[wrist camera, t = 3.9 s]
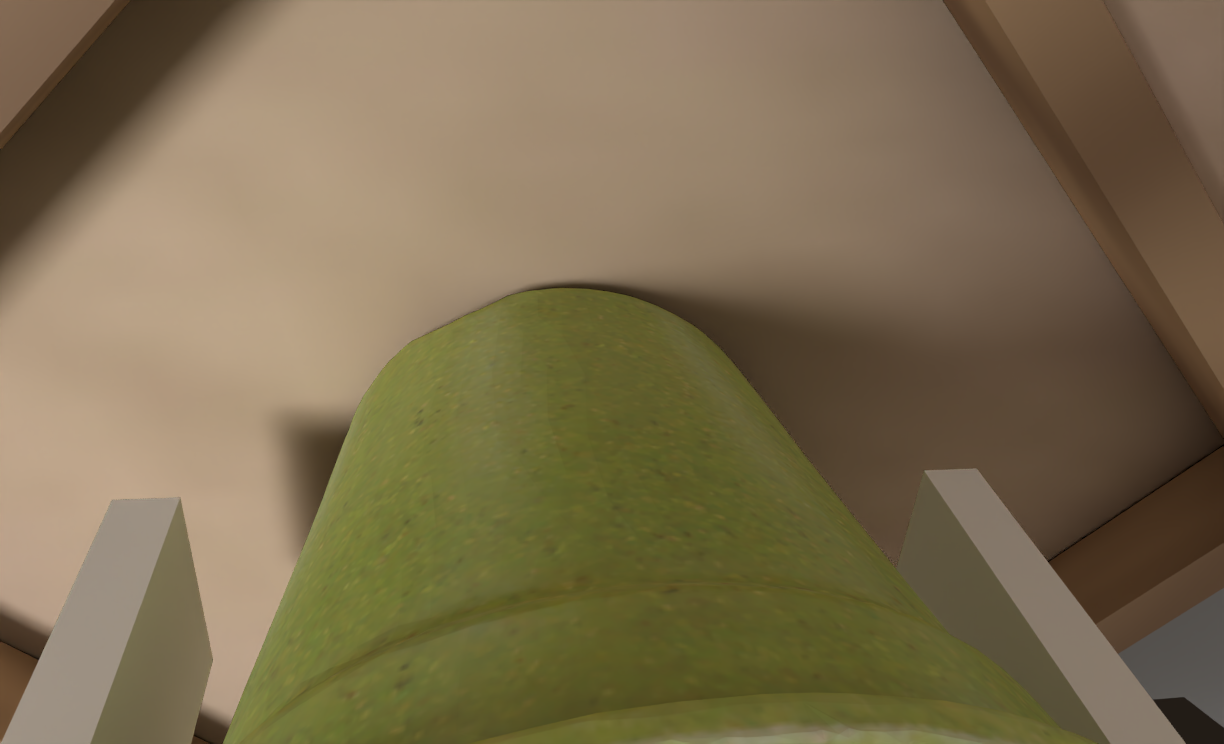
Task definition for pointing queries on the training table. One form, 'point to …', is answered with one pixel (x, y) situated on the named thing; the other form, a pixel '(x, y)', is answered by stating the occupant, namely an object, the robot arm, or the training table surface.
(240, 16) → the training table surface
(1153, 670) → the mat
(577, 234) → the training table surface
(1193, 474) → the tray frame
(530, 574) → the plant pot
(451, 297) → the training table surface
